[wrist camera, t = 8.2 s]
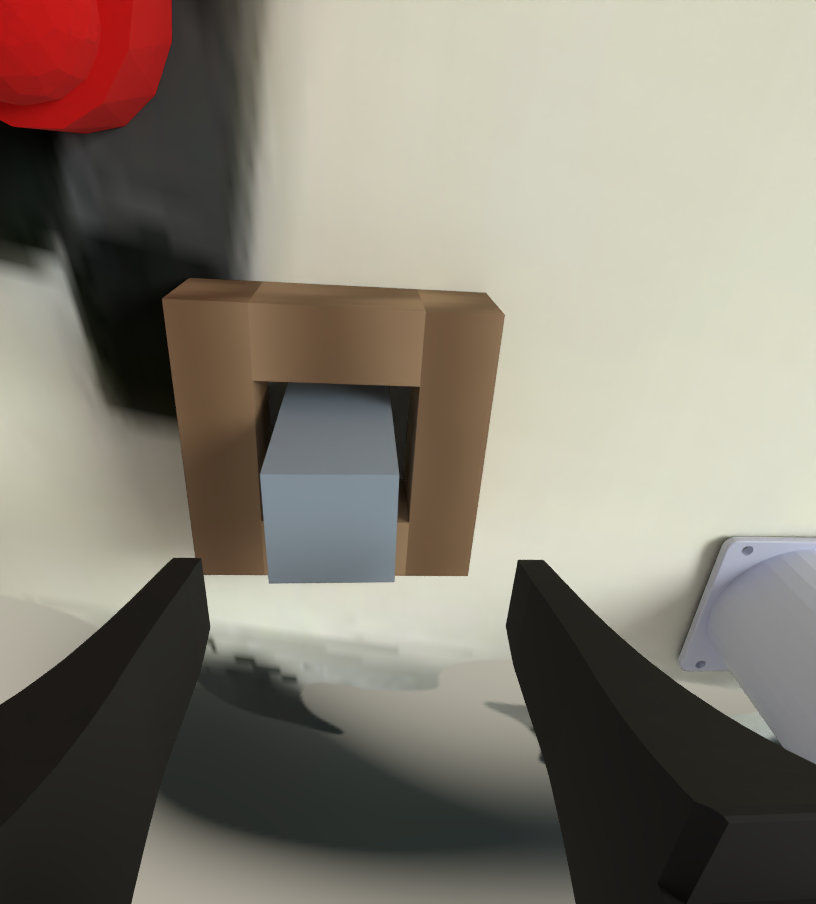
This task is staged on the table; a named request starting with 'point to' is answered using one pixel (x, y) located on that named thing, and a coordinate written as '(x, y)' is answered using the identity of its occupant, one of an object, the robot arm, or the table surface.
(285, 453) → the peg
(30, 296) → the table surface
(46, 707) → the robot arm
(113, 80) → the toy
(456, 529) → the socket block
